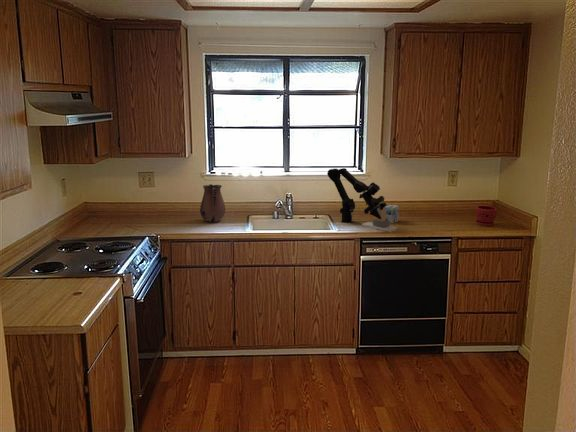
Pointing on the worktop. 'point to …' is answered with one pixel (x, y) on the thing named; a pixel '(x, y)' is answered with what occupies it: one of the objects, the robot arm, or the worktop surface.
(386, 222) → the sanding block
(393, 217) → the light bulb box
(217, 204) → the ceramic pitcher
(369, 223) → the marked board
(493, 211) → the plant pot
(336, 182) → the robot arm
